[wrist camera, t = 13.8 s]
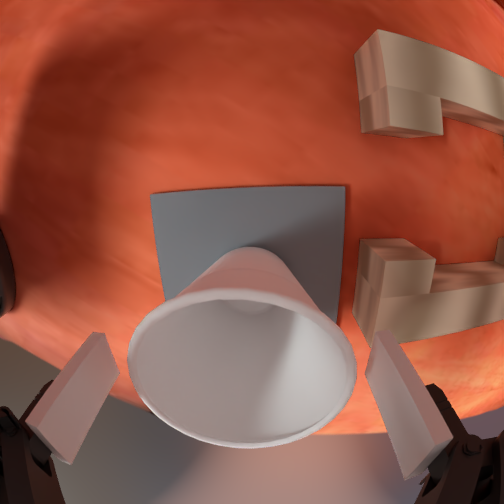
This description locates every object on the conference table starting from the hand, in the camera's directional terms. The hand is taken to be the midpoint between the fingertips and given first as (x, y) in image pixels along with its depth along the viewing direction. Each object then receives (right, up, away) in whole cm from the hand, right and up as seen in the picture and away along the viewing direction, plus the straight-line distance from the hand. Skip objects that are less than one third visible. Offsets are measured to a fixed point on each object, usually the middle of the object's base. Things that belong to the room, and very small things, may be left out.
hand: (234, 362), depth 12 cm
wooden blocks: (+19, +10, +6) cm, 23 cm away
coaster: (+1, +3, +9) cm, 10 cm away
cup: (+1, +3, +9) cm, 9 cm away
